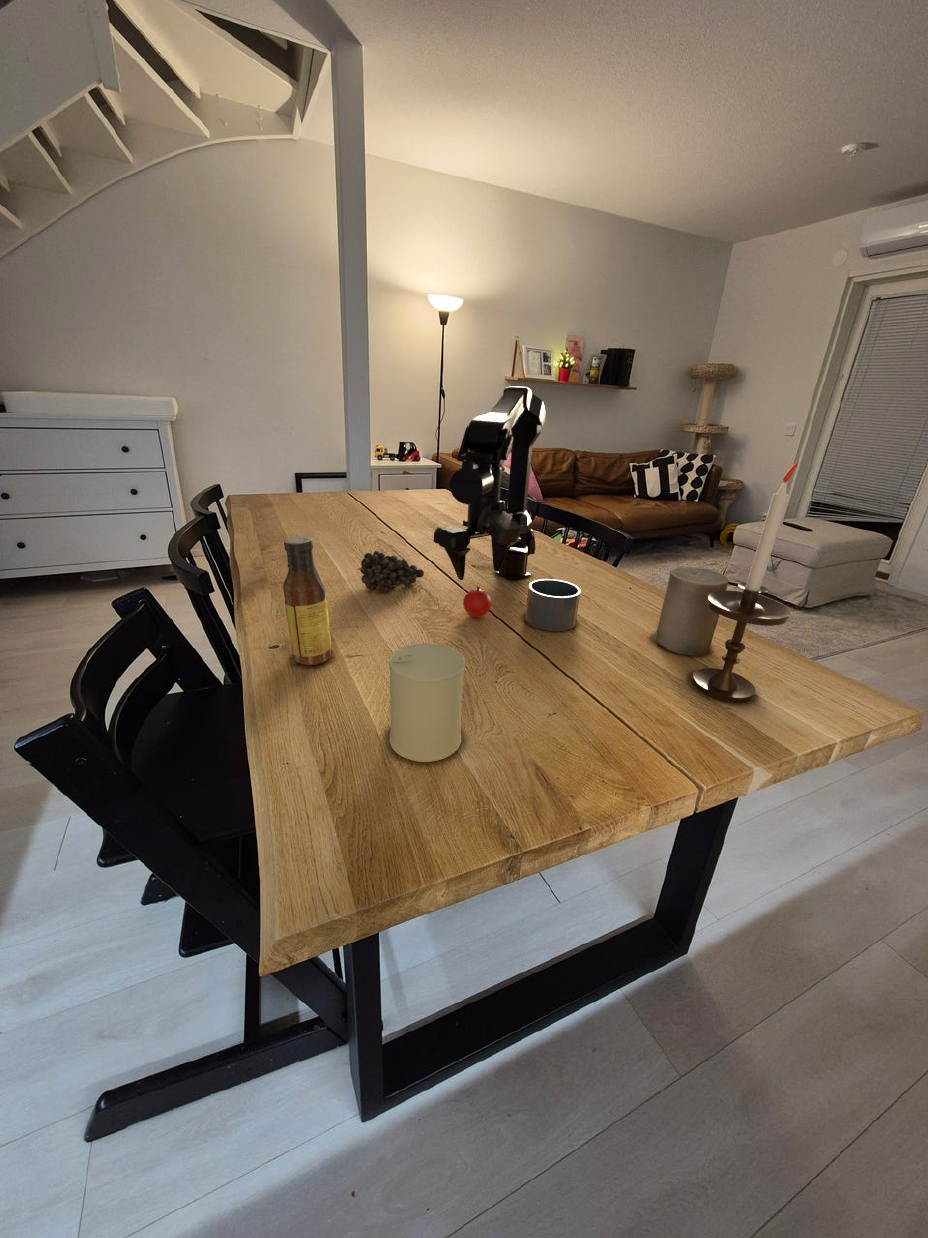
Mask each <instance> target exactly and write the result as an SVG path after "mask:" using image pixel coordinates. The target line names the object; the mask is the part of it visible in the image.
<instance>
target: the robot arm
mask: <svg viewBox="0 0 928 1238" xmlns="http://www.w3.org/2000/svg"><path fill="white" fill-rule="evenodd" d="M546 415H547V409H546V406H545V404H544V401H543V400H542V399H541V398H540V397H538V396H536V395H535V394H534V393H533V392H532V389H531V388H529V387H528V386H518V385H517V386H516V385H515V386H513V385H509V386H507V387H504V389H503V393H502V396H501V397H500V398H499V399H498V401H497V402H496V403H495V404H494V405H493V407H492V408H491V409H490V411H489V412H487V413H485V414H481V415H480V414H479V415H477V416H476V417H474V418H473V419H471V420H470V421H469V423H468V424H467V426H466V428H465V430H464V433H463V436H462V437H463V438H462V440H461V444H460V446H459V447H460V448H459V451H458V455H457V460H456V461H457V462H461V468H459V469H456V471H455V472H454V473H453V474H452V476H451V478H450V480H449V490H450V493H451V495H452V497H453V498H454V499H455V500H456V501H457V502H459V503H461V504H463V505H467V519H463V520H462V526H463V527H466V528H461V527H459V526H456V525H454V524H450V525H443V526H437V528H436V529H435V530H434V532H433V543H435V544H438V546H439V547H441V548H444V550H445V552H446V554H447V556H448V558H449V560H450V562H451V565H452V567H453V569H454V572H455V574H456V577H457V579H458V580H460V581H463V580H464V579H465V572H466V571H465V570H466V559H467V557H466V556H467V554H468V553H469V552H470V551H471V548H470V547H468V546H469V545H470V543H471V540H472V539H473V540H474V539H478V538H485V537H490V541H491V553H492V554H491V556H492V557H491V558H492V567H493V570H494V573H495V574H497V575H499V576H502V577H504V578H506V579H509V580H511V581H515V580H519V579H523V578H528V577H531V575H532V574H531V573H530V572H527V569H528V568H527V567H528V558H529V556H530V557H531V555H535V553H536V537H535V534H534V533H535V532H534V530H533V520H532V519H531V516H530V514H529V512H528V510H527V509H528V498H529V488H530V477H531V467H532V466H531V465H532V455H533V446H534V444H535V442H536V441H537V440H538V438H539V436H540V435H541V433H542V430H543V429H542V427H543V426H544V425H545V422H546V418H547V417H546ZM510 451H511V452H510ZM509 455H510V466H509V477H508V480H509V481H508V490H507V505H506V504H505V501H504V500H501V488H502V477H503V475H502V474H503V465H504V463H505V461H507V460H508V458H509Z"/></svg>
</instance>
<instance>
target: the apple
mask: <svg viewBox="0 0 928 1238" xmlns="http://www.w3.org/2000/svg"><path fill="white" fill-rule="evenodd" d="M491 598H492V597H491V596H490V595H489V593H488V592H487V591H485V590H484V589H481V588H480V585H477V586H476V588H473V589H471V590H469V591H468V592H467V593H466V594H465V595H464V597H463V601H462V604H463V609H464V610H465V612H466V613H467V614H468V615H469V616H471V617H474V618H480V617H483V616H485V615H487V614H488V613H489V611H490V610H491V607H492V599H491Z"/></svg>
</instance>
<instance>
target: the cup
mask: <svg viewBox="0 0 928 1238" xmlns="http://www.w3.org/2000/svg"><path fill="white" fill-rule="evenodd" d="M527 588H528V589H527V596H526V607H525V618H524V619H525V621H526V623H527V624H529V625H530V626H532V627H534V628H536V629H540V630H543V631H548V632H549V631H550V632H565V631H570V630H572V629H574V627H575V626H576V624H577V617H578V611H579V605H580V598H581V592H582V590H581V588H580V587H579V586H578V585H576V584H575V583H572V582H569V581H565V580H561V579H554V578H552V579H551V578H543V579H536V580H533V581H531V582H529V584H528V587H527Z"/></svg>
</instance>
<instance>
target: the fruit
mask: <svg viewBox="0 0 928 1238" xmlns="http://www.w3.org/2000/svg"><path fill="white" fill-rule="evenodd" d="M360 566H361V567H359V568H356V570H359V571H360V572H361V574H362V576H361V579H360V580H361V582H362V583H363V584H364V585H365V588H366V589H367V590H371V591H372V590H376V589H377V588H378V589H379V591H380V592H381V593H387V592H388V591H389V590H392V589H394V587H395V586H396V587H397V586H399V585H404V586H405V588H406V587H410V586H411V584H412V585H413V584H415V583H416V581H417V578H423V577H424V575H425V573H424V572H425V571H424V570H423V569H419V568H418V567H417V566H416V565H415V564H412V565H409V563H408V561H407V560H406V559H398V557H397V556H396V555H391V556H390V555H385V553H384V552H380V551H379V550H375V551H373V553H371V552H366V553H365V554H364V555H363V558H362V560H361V563H360Z"/></svg>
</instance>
